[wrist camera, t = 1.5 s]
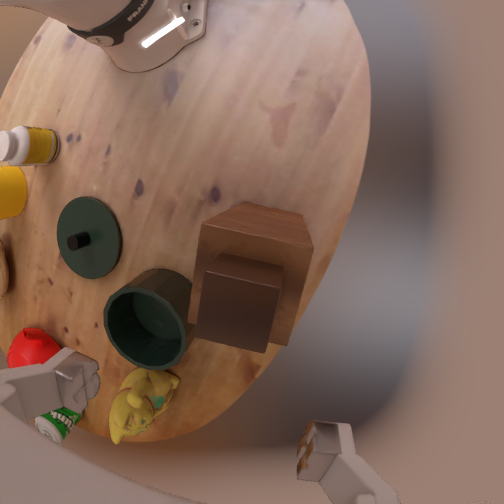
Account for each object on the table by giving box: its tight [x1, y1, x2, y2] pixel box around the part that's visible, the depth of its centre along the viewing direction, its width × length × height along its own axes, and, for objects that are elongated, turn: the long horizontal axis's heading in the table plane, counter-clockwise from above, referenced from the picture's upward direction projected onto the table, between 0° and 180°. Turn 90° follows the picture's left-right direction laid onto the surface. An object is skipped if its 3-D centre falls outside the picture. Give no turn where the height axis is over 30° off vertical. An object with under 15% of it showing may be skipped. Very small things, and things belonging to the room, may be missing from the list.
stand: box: [188, 202, 314, 346], centre depth 32 cm, size 8×8×20 cm
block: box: [195, 253, 283, 354], centre depth 20 cm, size 4×4×4 cm
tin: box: [104, 269, 196, 370], centre depth 42 cm, size 12×12×8 cm
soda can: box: [35, 406, 82, 443], centre depth 50 cm, size 8×8×12 cm
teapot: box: [7, 328, 61, 368], centre depth 47 cm, size 25×16×12 cm, turn 153°
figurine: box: [109, 367, 179, 444], centre depth 42 cm, size 11×9×15 cm
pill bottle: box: [0, 126, 59, 166], centre depth 37 cm, size 6×6×12 cm
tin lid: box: [57, 197, 121, 279], centre depth 43 cm, size 13×13×5 cm
